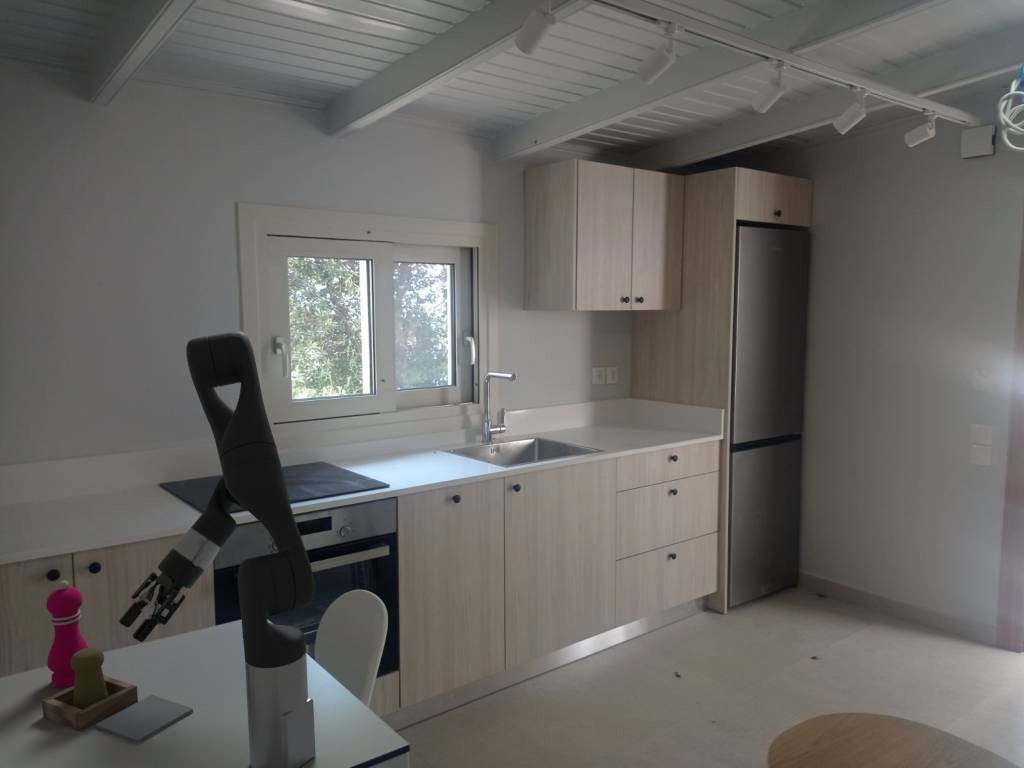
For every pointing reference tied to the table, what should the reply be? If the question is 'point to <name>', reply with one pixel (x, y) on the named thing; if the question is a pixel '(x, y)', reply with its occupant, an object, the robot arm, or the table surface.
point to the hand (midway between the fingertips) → (130, 632)
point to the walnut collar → (78, 719)
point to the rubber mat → (144, 718)
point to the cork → (88, 677)
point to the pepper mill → (64, 633)
